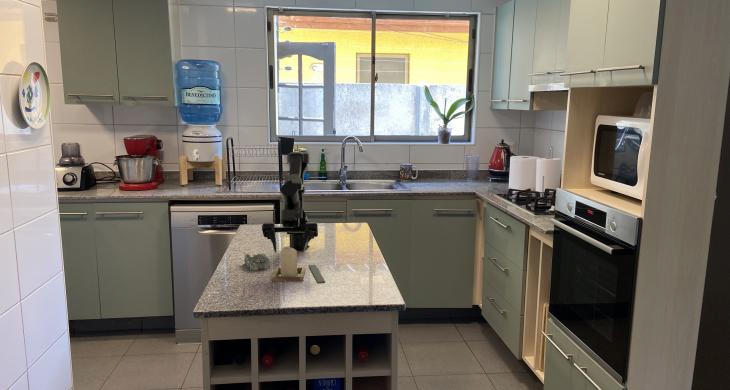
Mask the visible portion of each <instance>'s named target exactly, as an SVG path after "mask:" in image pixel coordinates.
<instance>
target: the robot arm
mask: <svg viewBox="0 0 730 390" xmlns="http://www.w3.org/2000/svg"><path fill="white" fill-rule="evenodd" d="M310 159H311V158H310V155H309V153H307V152H301V151H297V152H296V151H292V152H290V153H287V164H288V165H289V171H288V176H287V177H285V178H284V182H283V184H282V185H281V187H280V195H281V198H282V202H283V209H282V210H281V219H280V221H281V222H280V223H281V225H282V226H280V225H279V226H275V225H276V224H275V222H264V223H262V225H261V231H262V234H263V237H264V238H267V240H270V242H271V243H272V247H273V251H274V253H276V254H277V237H276V233H286V235H289V247H291V248H293V249H295V250H296V251H297V252H298V251H301V253H304V252H305V251H306V249H308V248H310V245H309V243H310V242H311V240H314V239H315V238H317V237H318V236H319V226H318V223H317V222H316V221H315V222H311V221H309V219H308V216H307V213H306V212H305V210H304V194H305V192H306V187H305V184H304V182H305V179H304V178H305V177H304V175H305V174H306V172H307V171H308V169H309V164H310Z"/></svg>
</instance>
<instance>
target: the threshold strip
mask: <svg viewBox="0 0 730 390" xmlns="http://www.w3.org/2000/svg"><path fill="white" fill-rule="evenodd" d="M308 268H309V269H310V271H311V273H312V275H313V277H314V279H315V280H316V283H317V284H321V283H323V284H324V283H326V280H325V278H324V277H323V275H322V273H321V272H320V270H319V268H318V267H317V265H316V264H308Z"/></svg>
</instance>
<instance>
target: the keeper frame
mask: <svg viewBox="0 0 730 390" xmlns="http://www.w3.org/2000/svg"><path fill="white" fill-rule="evenodd" d="M279 273H280V274H281V267H279V266H278V267H275V269H274V272H273V274H272V276H271V281H272V282H276V283H277V282H280V283H281V282H285V283H286V282H304V279H305V275H306V266H301V267H300V266H297V273H300V275H297V276H281V275H279ZM278 275H279V276H278Z"/></svg>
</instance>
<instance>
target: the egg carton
mask: <svg viewBox="0 0 730 390" xmlns="http://www.w3.org/2000/svg"><path fill="white" fill-rule="evenodd" d="M243 255H244V260H243V261H244V265H246V266H247V268H249V270H251V271H259V269H260V270H261V269H263V270H264V269H265V270H266V269H268V268H270V258H269V257H268V256H267V255H266V254H265V253H264V252H263V253H257V254H253V255H252V256H250V255H251V254H249V253H245V252H243Z"/></svg>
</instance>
